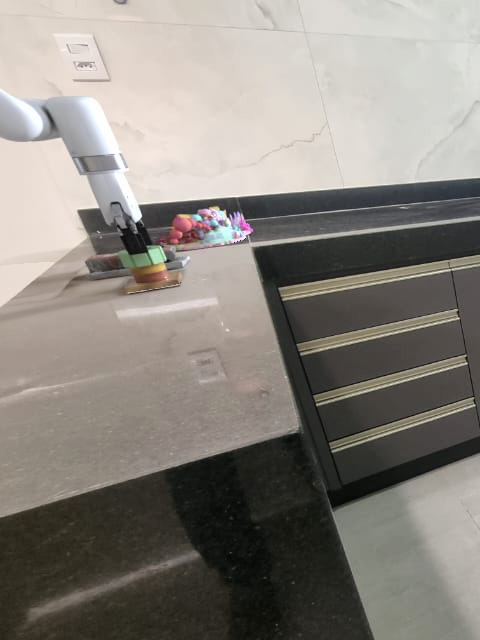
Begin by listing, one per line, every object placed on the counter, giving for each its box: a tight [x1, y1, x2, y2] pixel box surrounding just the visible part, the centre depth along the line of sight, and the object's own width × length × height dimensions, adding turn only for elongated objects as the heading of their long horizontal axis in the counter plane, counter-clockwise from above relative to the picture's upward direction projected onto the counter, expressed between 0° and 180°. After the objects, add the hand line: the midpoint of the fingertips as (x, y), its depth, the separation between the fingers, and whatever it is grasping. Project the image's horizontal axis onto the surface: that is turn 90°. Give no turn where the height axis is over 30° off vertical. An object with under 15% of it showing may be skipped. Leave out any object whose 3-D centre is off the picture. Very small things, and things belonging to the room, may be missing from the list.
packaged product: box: [84, 247, 191, 281], centre depth 129 cm, size 18×5×10 cm
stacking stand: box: [123, 262, 183, 294], centre depth 114 cm, size 9×9×10 cm
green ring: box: [117, 245, 166, 268], centre depth 113 cm, size 7×7×3 cm
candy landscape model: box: [155, 205, 254, 252], centre depth 158 cm, size 25×24×9 cm
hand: (141, 249), depth 113 cm, fingers open, 9 cm apart
